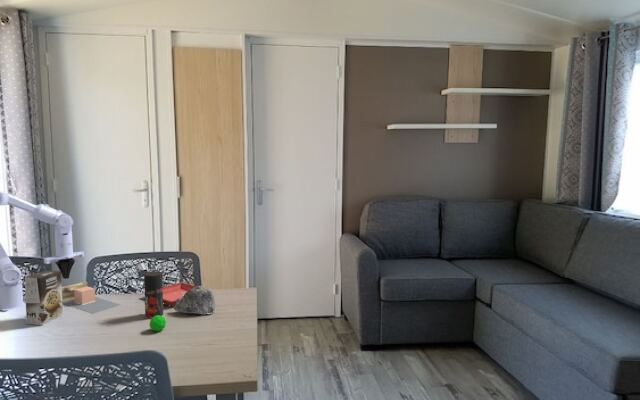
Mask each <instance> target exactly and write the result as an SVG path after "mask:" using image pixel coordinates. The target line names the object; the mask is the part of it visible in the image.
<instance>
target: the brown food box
mask: <svg viewBox="0 0 640 400" xmlns="http://www.w3.org/2000/svg"><path fill="white" fill-rule="evenodd" d="M62 287H63V286H62V274H61V271H60V270H43V271H39V272H36V273H34V274H30V275H28V276H27V275H26V276H24V289H25V290H24V291H25V292H24V293H25V303H26V306H25V310H26V311H25V313H26V316H25V317H26V319H25V320H26V324H27V325H35V326H44V325H45V324H47V323H49V322H51V321H54V320H56V319H58V318H60V317H62V316H63V315H64V310H63V303H62Z"/></svg>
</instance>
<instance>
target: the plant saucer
mask: <svg viewBox="0 0 640 400" xmlns="http://www.w3.org/2000/svg"><path fill="white" fill-rule="evenodd" d="M196 286H197V285H192V284H190V283H185V282H178V283H175V284H170V285H165V286H163V303H164V304H163V305H166V306H168V305H170V306H169V307H171V306H175V305H176V300H177V299H178V298H181V297H183V296H182V295H183V293H181V292H187V291H190V290H191V289H193V288H194V287H196ZM175 293H176V294H175ZM143 294H145V291H143Z"/></svg>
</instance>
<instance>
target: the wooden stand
mask: <svg viewBox="0 0 640 400" xmlns="http://www.w3.org/2000/svg"><path fill="white" fill-rule="evenodd" d="M86 286H88V281H81V282H77V283H73V284H70V285H65V286H62V302H64V301H68V300H72V299H75V296H74V290H75V289H78V288H82V287H86Z"/></svg>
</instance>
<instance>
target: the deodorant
mask: <svg viewBox="0 0 640 400" xmlns="http://www.w3.org/2000/svg"><path fill="white" fill-rule="evenodd" d="M143 276H144V277H143V279H144V280H143V282H144V292H145V293H144V311H145V312H144V314H145V315H144V317H145V318H147V319H152V318H153V317H154V316H157V315H160V316H162V315H164V304H163V287H164V285H163V272H161V271H156V270H155V271H148V272H146V273H144V274H143ZM162 317H163V316H162Z"/></svg>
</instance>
